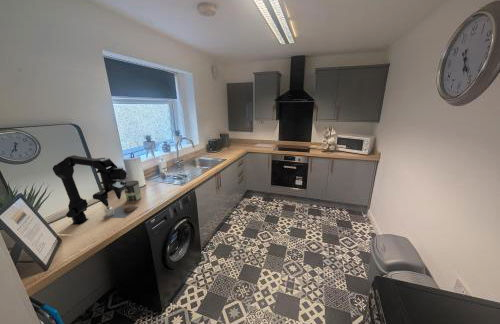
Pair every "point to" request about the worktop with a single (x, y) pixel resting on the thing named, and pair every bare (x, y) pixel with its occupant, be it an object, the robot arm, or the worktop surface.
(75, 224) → the robot arm
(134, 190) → the coffee can
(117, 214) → the board
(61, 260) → the worktop surface
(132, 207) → the base
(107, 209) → the cap
